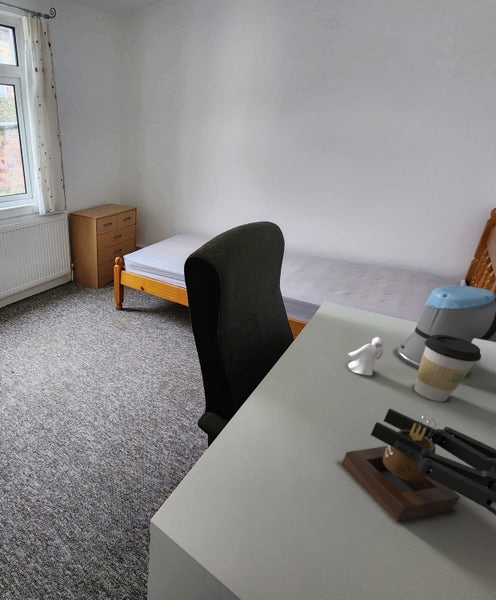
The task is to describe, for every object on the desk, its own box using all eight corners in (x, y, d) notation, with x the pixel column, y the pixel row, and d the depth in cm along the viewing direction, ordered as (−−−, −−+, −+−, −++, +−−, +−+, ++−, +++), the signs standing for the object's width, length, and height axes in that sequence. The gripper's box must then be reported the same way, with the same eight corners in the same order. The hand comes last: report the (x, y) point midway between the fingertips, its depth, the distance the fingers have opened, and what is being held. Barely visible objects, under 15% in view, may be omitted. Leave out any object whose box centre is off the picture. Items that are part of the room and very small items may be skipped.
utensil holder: (429, 472, 60) (457, 421, 56) (416, 490, 57) (444, 437, 52) (389, 450, 65) (411, 401, 60) (374, 465, 62) (397, 415, 57)
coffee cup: (467, 409, 82) (497, 356, 76) (420, 403, 84) (446, 351, 78) (438, 384, 91) (463, 335, 85) (397, 379, 93) (418, 331, 87)
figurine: (352, 376, 94) (366, 339, 89) (338, 360, 101) (350, 325, 96) (382, 379, 93) (398, 341, 88) (366, 363, 100) (380, 327, 95)
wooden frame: (389, 457, 69) (396, 444, 68) (452, 510, 59) (461, 496, 57) (341, 464, 67) (346, 451, 66) (396, 521, 57) (404, 507, 56)
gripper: (568, 589, 41) (352, 459, 59) (579, 507, 51) (391, 417, 69) (605, 551, 38) (366, 426, 56) (610, 472, 48) (405, 386, 66)
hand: (380, 421), depth 62 cm, fingers closed on utensil holder, 5 cm apart
